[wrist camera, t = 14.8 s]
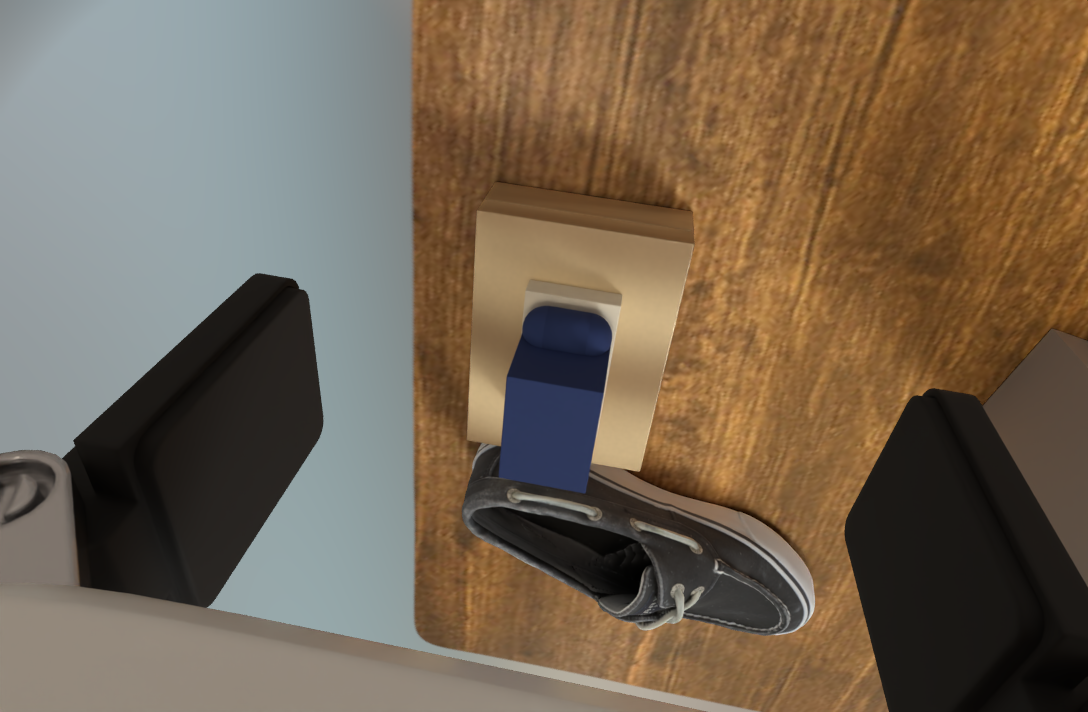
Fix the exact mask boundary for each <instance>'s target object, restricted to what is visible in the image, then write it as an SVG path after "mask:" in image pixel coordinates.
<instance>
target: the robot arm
mask: <svg viewBox="0 0 1088 712" xmlns="http://www.w3.org/2000/svg"><path fill="white" fill-rule="evenodd" d="M322 428H323V411H322V403H321V395H320V387H319V378H318V370H317V362H316V354H315V346H314V337H313V329H312V321H311V313H310V305H309V298H308V294H307V293H306V291H304V290H300V289H299V286H298V284H297V283H296V281H294V280H293V279H290V278H284V277H278V276H272V275H266V274H260V273H259V274H255V275H253V276H252V277H250V278H249V279H248V280H247V281H246V282H245V283H244V284H243V285H242V286H241V287H240V288H239V289H237V291H235V292H234V293H233V294H232V295H231V296H230V297H229V298H228V299H226V300H225V301H224V302H223V303H222V304H221V305H220V306H219V307H218V308H217V309H216V310H215V311H214V312H212V313H211V314H210V315H209V316H208V317H207V318H206V319H205V320H204V321H203V322H201V324H199V325H198V326H197V327H196V328H195V329H194V330H193V331H192V332H191V333H190V334H188V335H187V336H186V337H185V338H184V339H183V340H182V341H181V342H180V343H179V344H178V345H176V346H175V347H174V348H173V349H172V350H171V351H170V352H169V353H168V354H167V355H166V356H165V357H163V358H162V359H161V360H160V361H159V362H158V363H157V364H156V365H155V366H154V367H153V368H152V369H150V370H149V371H148V372H147V373H146V374H145V375H144V376H143V377H142V378H141V379H140V380H138V381H137V382H136V383H135V384H134V385H133V386H132V387H131V388H130V389H129V390H128V391H127V392H125V393H124V394H123V395H122V396H121V397H120V398H119V399H118V400H117V401H116V402H114V403H113V405H111V406H110V407H109V408H108V409H107V410H106V411H105V412H104V413H103V414H101V415H100V416H99V417H98V418H97V419H96V420H95V421H94V422H93V423H92V424H91V425H89V427H87V428H86V429H85V430H84V431H83V432H82V433H81V434H80V435H79V436H78V437H76V438H75V439H74V440H73V441H74V444H75V447H74V448H73V449H72V450H71V451H70V452H68V453H67V454H66V455H65V456H64V457H63V458H62V459H61V458H60V457H59V456H57V455H56V454H52V453H48V452H45V451H41V450H40V451H39V450H19V451H13V452H7V453H1V454H0V712H706V711H701V710H696V709H692V708H687V707H682V706H678V705H673V704H668V703H664V702H660V701H655V700H650V699H645V698H640V697H636V696H631V695H626V694H622V693H617V692H612V691H607V690H603V689H598V688H593V687H589V686H584V685H579V684H574V683H569V682H565V681H560V680H555V679H551V678H546V677H541V676H537V675H532V674H527V673H522V672H517V671H513V670H508V669H503V668H498V667H494V666H489V665H484V664H479V663H475V662H470V661H465V660H460V659H455V658H451V657H446V656H441V655H436V654H432V653H427V652H422V651H417V650H412V649H407V648H403V647H398V646H393V645H387V644H383V643H378V642H373V641H368V640H364V639H359V638H353V637H349V636H344V635H339V634H334V633H329V632H324V631H320V630H315V629H310V628H305V627H300V626H295V625H290V624H285V623H281V622H276V621H271V620H266V619H261V618H256V617H251V616H247V615H241V614H236V613H230V612H225V611H220V610H215V609H209V608H207V607H208V606H209V605H211V604H212V603H213V601H214V600H215V599H216V597H217V596H218V594H219V593H220V591H221V589H222V588H223V586H224V585H225V583H226V582H227V580H228V579H229V577H230V576H231V574H232V572H233V571H234V569H235V568H236V566H237V565H238V563H239V562H240V560H241V558H242V557H243V555H244V554H245V552H246V551H247V549H248V548H249V546H250V545H251V543H252V542H253V540H254V538H255V537H256V535H257V534H258V532H259V531H260V529H261V528H262V526H263V525H264V523H265V521H266V520H267V518H268V517H269V515H270V514H271V512H272V511H273V509H274V508H275V506H276V504H277V502H278V501H279V499H280V498H281V497H282V495H283V494H284V492H285V491H286V489H287V488H288V486H289V484H290V483H291V481H292V480H293V478H294V477H295V475H296V474H297V472H298V471H299V469H300V467H301V466H302V464H303V463H304V461H305V460H306V458H307V456H308V455H309V454H310V452H311V450H312V449H313V447H314V446H315V444H316V443H317V441H318V439H319V437H320V435H321V432H322ZM845 541H846V545H847V549H848V553H849V556H850V560H851V564H852V568H853V572H854V576H855V580H856V584H857V588H858V592H859V596H860V600H861V604H862V607H863V611H864V615H865V619H866V623H867V627H868V631H869V635H870V639H871V643H872V647H873V651H874V655H875V658H876V662H877V666H878V670H879V674H880V678H881V682H882V686H883V690H884V694H885V698H886V702H887V706H888V709H889V712H1088V587H1087V585H1086V583H1085V581H1084V580H1083V578H1082V576H1081V575H1080V573H1079V571H1078V569H1077V568H1076V566H1075V564H1074V562H1073V561H1072V559H1071V557H1070V556H1069V554H1068V552H1067V550H1066V549H1065V547H1064V545H1063V544H1062V542H1061V540H1060V538H1059V537H1058V535H1057V533H1056V532H1055V530H1054V528H1053V526H1052V525H1051V523H1050V521H1049V520H1048V518H1047V516H1046V514H1045V513H1044V511H1043V509H1042V508H1041V506H1040V504H1039V502H1038V501H1037V499H1036V497H1035V496H1034V494H1033V492H1032V490H1031V489H1030V487H1029V485H1028V484H1027V482H1026V480H1025V478H1024V477H1023V475H1022V473H1021V472H1020V470H1019V468H1018V466H1017V465H1016V463H1015V461H1014V460H1013V458H1012V456H1011V454H1010V453H1009V451H1008V449H1007V448H1006V446H1005V444H1004V442H1003V441H1002V439H1001V437H1000V436H999V434H998V432H997V430H996V429H995V427H994V425H993V424H992V422H991V420H990V418H989V417H988V415H987V413H986V412H985V410H984V408H983V406H982V405H981V403H980V401H979V400H978V399H977V398H976V397H975V396H973V395H970V394H964V393H958V392H952V391H946V390H940V389H935V388H933V389H929V390H927V391H926V392H925V393H924V394H923V396H918V395H917V396H913V397H912V398H911V399H910V400H909V402H908V403H907V405H906V407H905V409H904V411H903V413H902V415H901V417H900V418H899V420H898V422H897V424H896V426H895V428H894V430H893V432H892V433H891V435H890V437H889V439H888V441H887V443H886V445H885V447H884V449H883V450H882V452H881V454H880V456H879V458H878V460H877V462H876V464H875V465H874V467H873V469H872V471H871V473H870V475H869V477H868V479H867V481H866V482H865V484H864V486H863V488H862V490H861V492H860V494H859V496H858V497H857V499H856V501H855V503H854V505H853V507H852V509H851V511H850V512H849V514H848V517H847V519H846V523H845Z"/></svg>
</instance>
